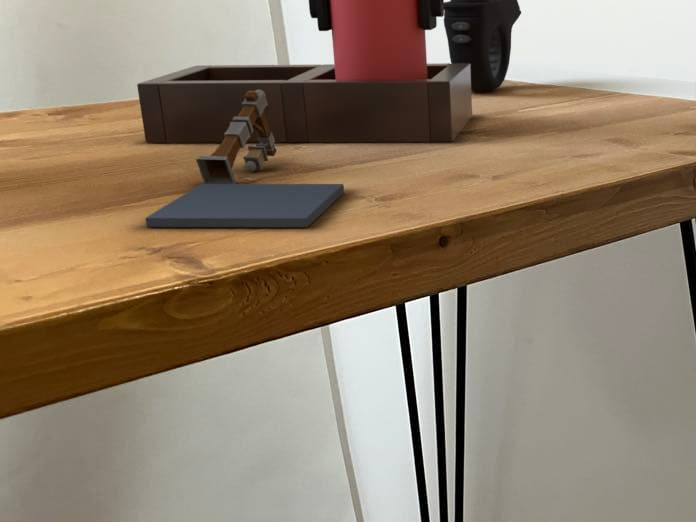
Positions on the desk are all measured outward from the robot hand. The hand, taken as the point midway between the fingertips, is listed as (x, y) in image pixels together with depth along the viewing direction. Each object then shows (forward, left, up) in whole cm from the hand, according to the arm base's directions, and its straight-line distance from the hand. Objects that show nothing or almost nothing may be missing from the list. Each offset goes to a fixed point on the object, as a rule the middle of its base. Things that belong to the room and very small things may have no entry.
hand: (378, 26), depth 79 cm
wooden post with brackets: (-5, -17, -7) cm, 19 cm away
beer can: (0, 0, -7) cm, 7 cm away
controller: (+5, +22, -7) cm, 24 cm away
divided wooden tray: (-5, 0, -7) cm, 9 cm away
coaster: (-2, -26, -7) cm, 27 cm away
